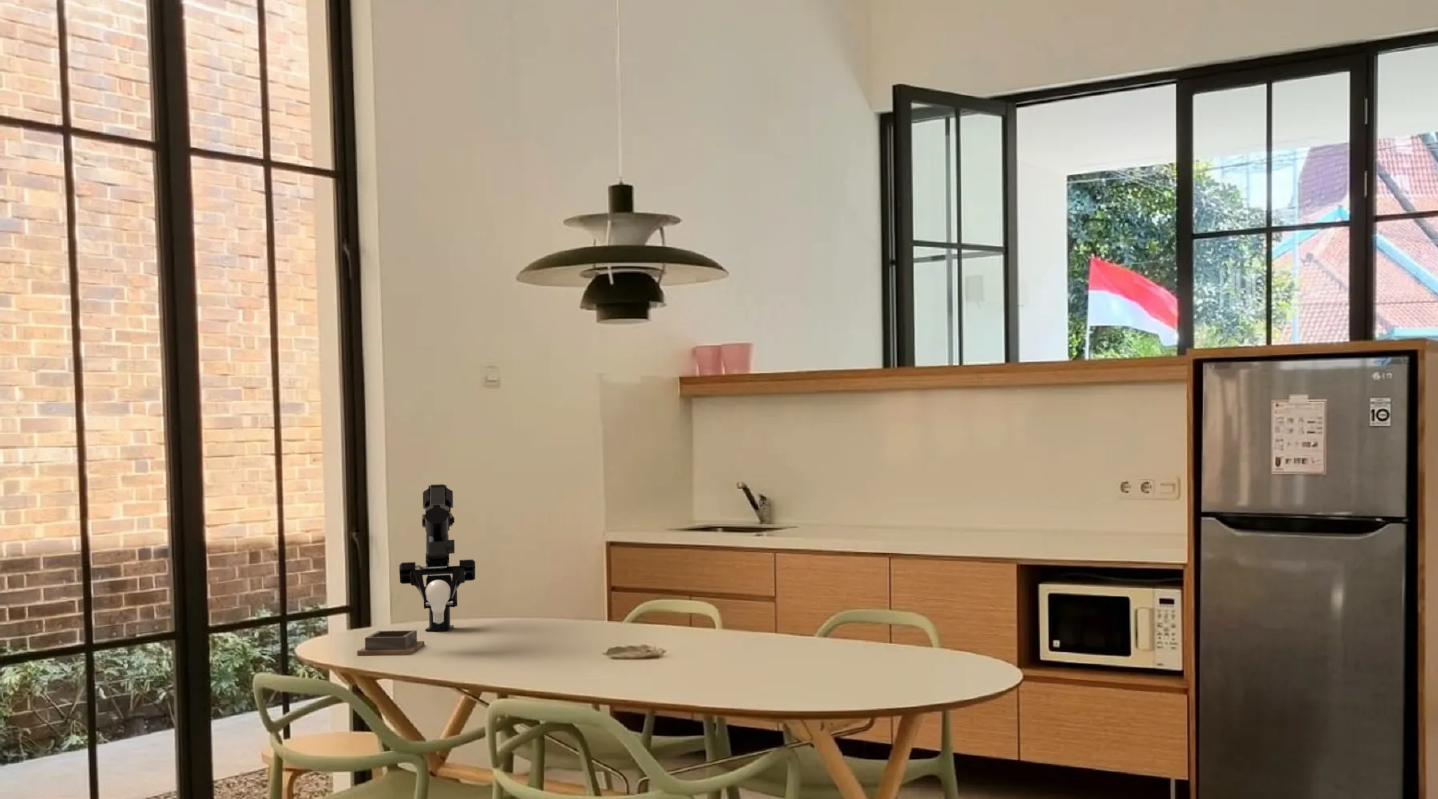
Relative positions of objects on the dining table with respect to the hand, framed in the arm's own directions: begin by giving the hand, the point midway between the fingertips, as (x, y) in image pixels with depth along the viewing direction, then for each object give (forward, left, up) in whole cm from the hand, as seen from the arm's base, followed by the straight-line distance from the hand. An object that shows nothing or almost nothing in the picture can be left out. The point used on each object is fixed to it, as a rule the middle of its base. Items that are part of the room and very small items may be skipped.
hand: (437, 598), depth 297 cm
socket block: (-3, -13, -13) cm, 19 cm away
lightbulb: (-1, 0, -7) cm, 7 cm away
